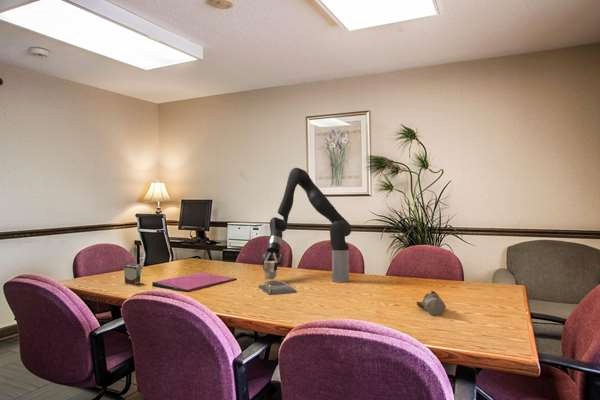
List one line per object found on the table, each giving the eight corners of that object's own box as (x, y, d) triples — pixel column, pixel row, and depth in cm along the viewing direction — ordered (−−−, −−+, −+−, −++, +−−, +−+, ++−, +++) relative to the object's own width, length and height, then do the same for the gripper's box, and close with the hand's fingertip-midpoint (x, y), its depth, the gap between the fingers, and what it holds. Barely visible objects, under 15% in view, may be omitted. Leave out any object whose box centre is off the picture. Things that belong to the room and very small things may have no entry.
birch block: (276, 276, 223) (276, 260, 224) (273, 279, 217) (273, 262, 217) (267, 276, 224) (267, 260, 224) (264, 279, 217) (264, 262, 217)
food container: (147, 283, 217) (147, 265, 218) (137, 285, 212) (137, 266, 212) (133, 281, 224) (133, 263, 224) (123, 283, 219) (123, 264, 219)
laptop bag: (202, 269, 241) (236, 274, 227) (202, 276, 241) (236, 282, 227) (145, 280, 207) (181, 287, 193) (145, 288, 207) (181, 295, 193)
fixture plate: (284, 285, 211) (284, 277, 211) (296, 292, 194) (296, 284, 194) (258, 287, 206) (258, 279, 206) (268, 294, 190) (268, 286, 190)
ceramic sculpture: (423, 293, 152) (414, 287, 167) (423, 317, 151) (415, 309, 166) (452, 294, 151) (441, 288, 166) (452, 317, 150) (441, 309, 165)
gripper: (261, 241, 229) (255, 265, 217) (285, 241, 227) (281, 266, 215) (263, 249, 234) (258, 273, 222) (287, 249, 232) (283, 274, 220)
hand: (269, 269), depth 219 cm, fingers closed on birch block, 5 cm apart
